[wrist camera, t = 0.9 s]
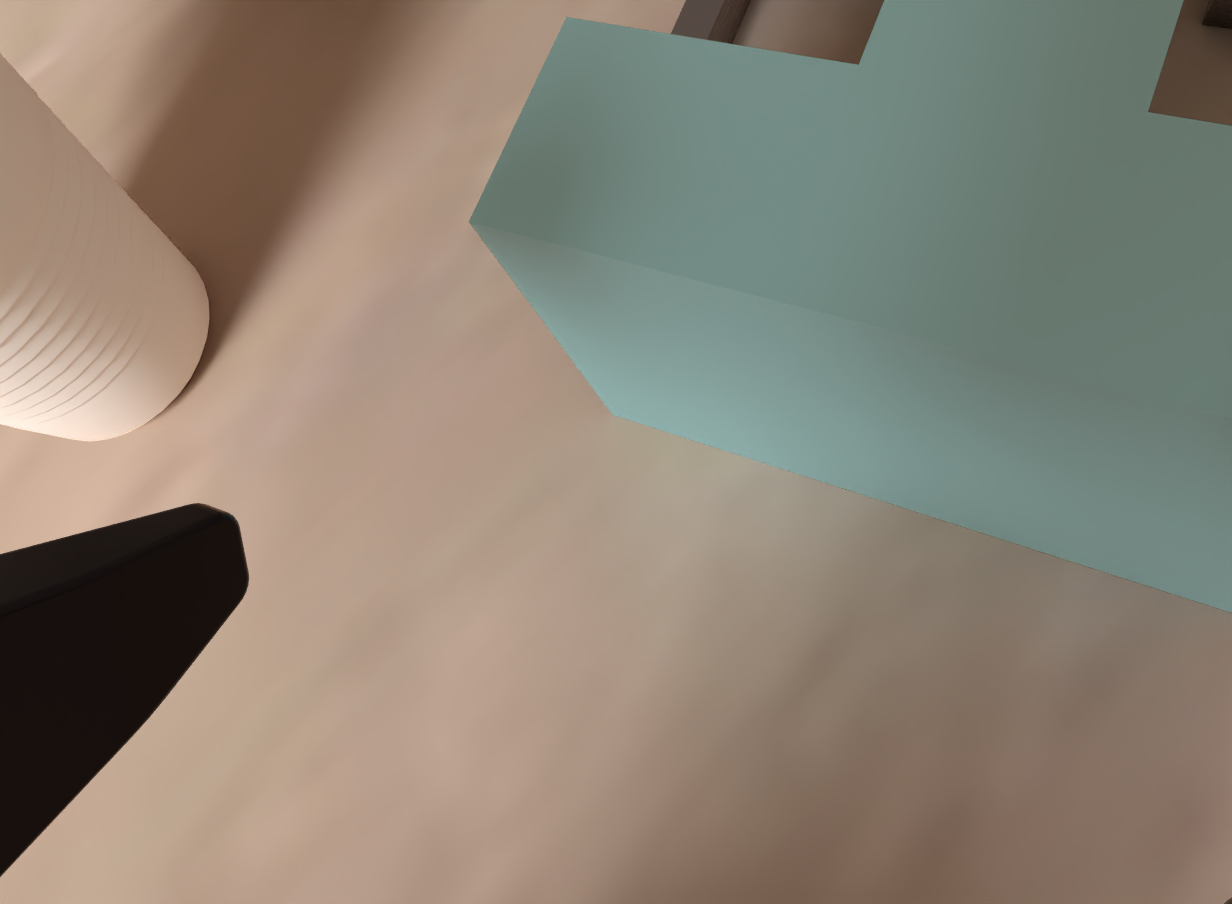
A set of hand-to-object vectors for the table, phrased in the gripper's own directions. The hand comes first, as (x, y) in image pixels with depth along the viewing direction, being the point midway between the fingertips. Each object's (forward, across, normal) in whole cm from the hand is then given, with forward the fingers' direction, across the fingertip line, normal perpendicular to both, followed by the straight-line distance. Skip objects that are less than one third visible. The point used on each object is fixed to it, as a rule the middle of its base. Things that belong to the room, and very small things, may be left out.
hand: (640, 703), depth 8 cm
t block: (+18, -1, +1) cm, 18 cm away
